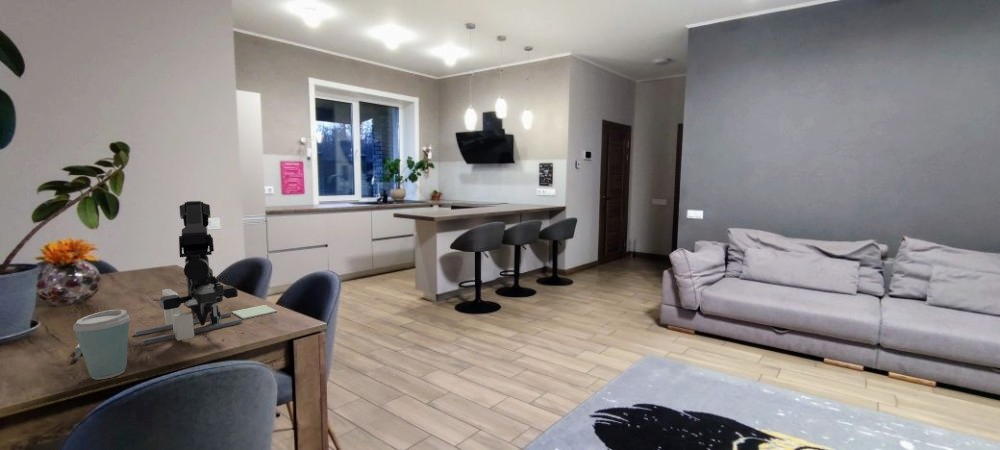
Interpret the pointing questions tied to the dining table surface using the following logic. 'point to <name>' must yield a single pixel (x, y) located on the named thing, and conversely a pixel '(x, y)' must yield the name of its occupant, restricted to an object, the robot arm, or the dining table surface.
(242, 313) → the pad
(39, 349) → the dining table surface
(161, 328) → the tie rails
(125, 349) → the disposable coffee cup
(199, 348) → the dining table surface
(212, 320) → the push button
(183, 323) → the frosted white block
